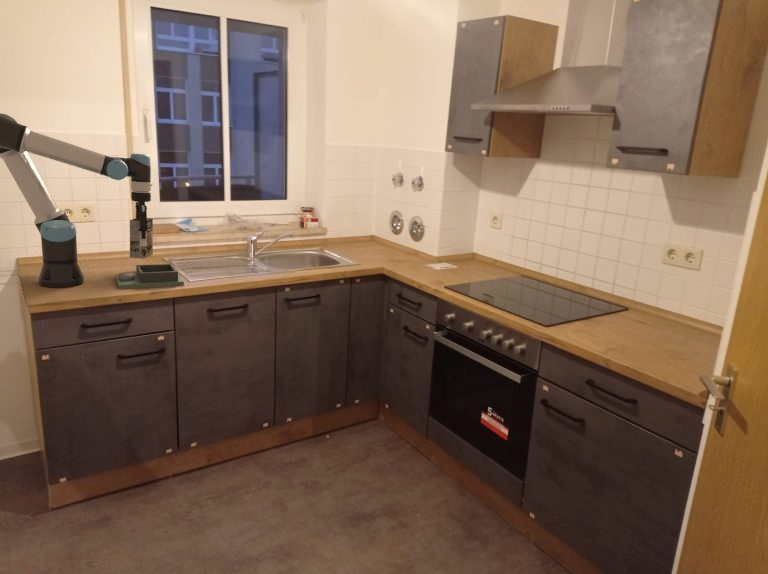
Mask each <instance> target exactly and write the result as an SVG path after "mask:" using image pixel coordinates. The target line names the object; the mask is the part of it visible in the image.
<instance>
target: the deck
mask: <svg viewBox="0 0 768 574" xmlns="http://www.w3.org/2000/svg"><path fill="white" fill-rule="evenodd" d="M135 268H136V269H135V270H136V273H132V272H121V273H119V274H114V279H115V281H116V285H117V287H118V289H119V290H120V289H138V288H155V287H173V285H178V286H184V285H185V284H184V283H185V281H184V280H183V279H182V277H181V276H180V275H179V271H178V270H177V268H176V267H175V266H174V265H173V263H157V264H156V263H155V264H154V263H153V264H136V265H135Z"/></svg>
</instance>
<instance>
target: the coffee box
mask: <svg viewBox="0 0 768 574" xmlns="http://www.w3.org/2000/svg"><path fill="white" fill-rule="evenodd" d="M153 220H154V219H153V218H148V217H147V228H148V230H147V246H140V231H138V229H140V221H139V218H136V217H135V218H132V219H129V258H134V259H142V260H144V259H146V258H149V257H151V256H153V255H154V248H153V247H154V245H153V244H154V241H153V240H154V238H153V237H154V236H153V233H154V232H153V230H154V228H153V224H154V221H153Z"/></svg>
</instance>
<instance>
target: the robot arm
mask: <svg viewBox="0 0 768 574" xmlns="http://www.w3.org/2000/svg"><path fill="white" fill-rule="evenodd" d="M29 153H30V154H34V155H37V156H39V157H43V158H47V159H50V160H53V161H56V162H60V163H63V164H66V165H69V166H73V167H76V168H79V169H82V170H85V171H89V172H92V173H95V174H99V175H100V176H104V177H108V178H110V179H112V180H116V181H121V180H124V179H125V178H127V177H130V193H131V195H130V196H131V197H130V199H131V201H132V202H135V219H136V218H139V221H140V229H138V231H140V246H147V230H148V228H147V218H148V217H147V215H148V212H147V210H148V207H147V205H146V203H148V202H151V200H152V199H151V197H152V193H151V187H153V184H152V183H151V178H152V177H151V175H152V173H151V171H152V169H151V167H152V166H151V156H150V155H149V154H145V153H131V154H130V157H116V156H108V155H105V154H102V153H100V152H97V151H93V150H91V149H87V148H84V147H80V146H78V145H76V144H72V143H69V142H67V141H64V140H63V141H62V140H60V139H56V138H54V137H51V136H47V135H44V134H43V133H39V132H35V131H33V130H30V128H29V127H28V126H26V125H23V124H20V123H19V122H18V121H17V120H16V119H14V118H13V117H12V116H10V115H8V114H5V113H1V112H0V159H2V161H3V163H4V164H5V165H6V167H7V169H8V171H9V172H10V175H11V176H12V178H13V179H14V181H15V183H16V185H17V187H18V189H19V191H20V192H21V194H22V195H23V197H24V199H25V201H26V202H27V204H28V206H29V208H30V209H31V212H32V213H33V215H34V216H35V219H34V222H33V223H34V225H35V227H36V228H37V230H38V232H39V234H40V240H41V243H40V244H41V254H42V267H41V270H40V272H39V273H40V274H39V277H38V283H39V285H40V286H42V287H45V288H55V289H56V288H71V287H75V286H79V285H82V284H84V282H85V279H84V278H85V277H84V273H83V272H82V270H81V267H80V265H79V263H78V261H79V259H78V246H77V244H78V243H77V228H76V225H75V223H73V222H71V221H70V219H69V217H68V215H67V213H66V211H65V210H62V209H60V208H58V205H57V203H56V202H55V200H54V198H53V196H52V194H51V193H50V190H49V189H48V187H47V186H46V183H45V182H44V180H43V178H42V176H41V175H40V173H39V171H38V168H37V167H36V166H35V164H34V161H33V159H32V158H31V156H30V154H29Z"/></svg>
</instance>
